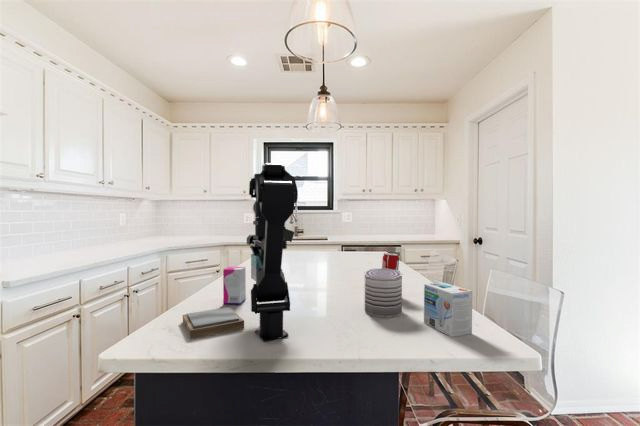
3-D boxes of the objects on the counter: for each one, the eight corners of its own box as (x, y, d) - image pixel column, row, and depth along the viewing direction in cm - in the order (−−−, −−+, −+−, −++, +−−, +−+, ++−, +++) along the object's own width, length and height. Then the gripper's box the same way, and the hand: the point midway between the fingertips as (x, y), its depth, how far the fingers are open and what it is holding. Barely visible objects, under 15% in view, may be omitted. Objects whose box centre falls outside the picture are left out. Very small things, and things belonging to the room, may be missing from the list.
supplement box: (246, 300, 109) (246, 266, 108) (240, 305, 103) (240, 269, 102) (229, 299, 109) (229, 266, 109) (222, 304, 103) (222, 269, 103)
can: (408, 310, 98) (408, 271, 97) (391, 320, 89) (391, 277, 89) (375, 303, 105) (375, 266, 105) (356, 311, 96) (356, 272, 96)
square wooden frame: (244, 328, 83) (244, 318, 82) (190, 338, 76) (190, 328, 76) (230, 314, 94) (230, 305, 94) (182, 322, 87) (182, 313, 87)
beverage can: (377, 294, 116) (377, 252, 116) (393, 292, 118) (393, 252, 118) (385, 298, 110) (385, 255, 110) (402, 296, 112) (402, 254, 112)
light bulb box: (422, 323, 87) (423, 283, 87) (442, 320, 89) (442, 281, 89) (451, 337, 77) (452, 293, 77) (473, 334, 79) (473, 290, 79)
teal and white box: (274, 275, 96) (274, 252, 96) (280, 278, 92) (279, 254, 92) (251, 278, 93) (251, 254, 93) (256, 281, 88) (256, 256, 88)
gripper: (304, 217, 88) (304, 274, 88) (279, 216, 104) (280, 264, 104) (265, 218, 82) (265, 278, 82) (246, 217, 99) (246, 267, 99)
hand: (265, 271), depth 92 cm, fingers closed on teal and white box, 5 cm apart
